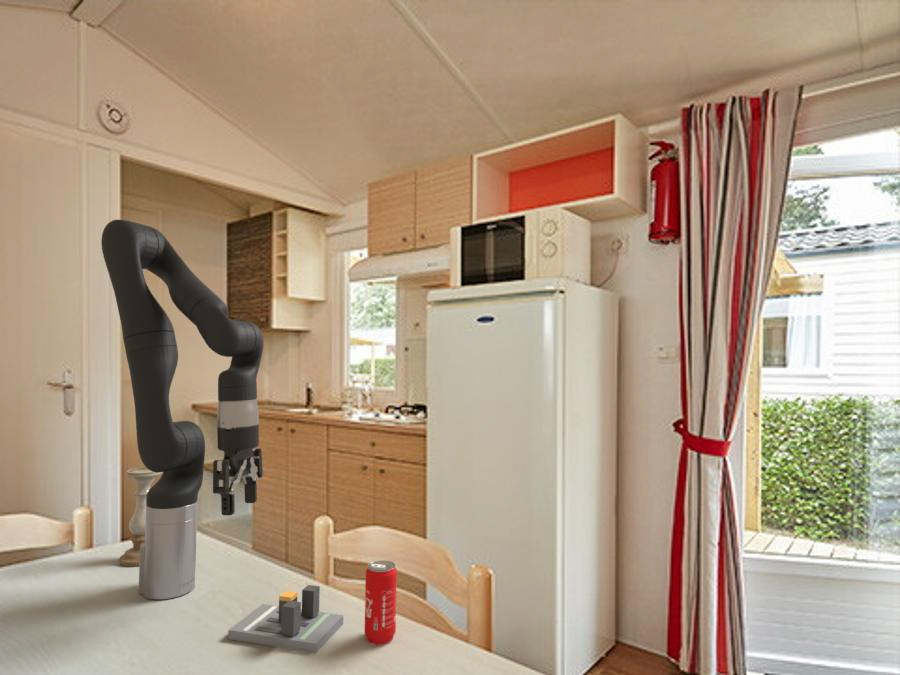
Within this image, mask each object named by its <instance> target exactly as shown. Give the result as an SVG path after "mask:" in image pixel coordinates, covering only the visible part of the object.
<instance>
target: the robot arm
mask: <svg viewBox="0 0 900 675" xmlns="http://www.w3.org/2000/svg"><path fill="white" fill-rule="evenodd" d="M101 250H102V257H103V259H104V262H105V263H104V264H105V266H106V269H107V273H108V276H109V280H110V282H111V286H112V289H113V293H114V297H115V301H116V306H117V310H118V315H119V316H118V317H119V320H120V326H121V332H122V340H123V343H124V351H125V355H126V359H127V361H126V362H127V365H128V369H129V375H130V382H131V388H132V395H133V402H134V411H135V426H136V427H135V429H136V441H137V442H136V444H137V450H138V454H139V457H140V460H141V462H142V464H143V466H144V467H147V468H148V469H149V470H151V471H152V472H157V473H159V472H163V473H162V474H161V476H160V478H159V479H158V480H157V482H156V483H155V484H153V486H151V488H150V489H149V491H148V492H147V497H146V524H145V542H144V543H142V544H141V545H140V566H138V567H139V570H138V571H139V572H138V573H139V575H138V594H141V595H143V597H145V598H146V599H148V600H149V599H150V600H167V599H174V598H177V597H181V596H184V595H186V594H189V593H190V592H191V591H192V590H194V588H195V586H196V567H197V566H196V562H197V533H198V532H197V530H198V529H197V528H198V526H197V525H198V498H199V497H198V496H199V492H200V489H201V487H202V485H203V480H204V472H205V470H204V468H205V460H206V459H205V456H206V440H205V436H204V433H203V432H204V431H203V430H202V429H201V427H200V426H199V425H198V424H196V423H195V422H193V421H189V420H180V421H179V420H178V421H174V422H173V417H172V414H171V407H170V389H171V386H172V382H173V378H174V376H175V373H176V369H177V366H178V360H179V351H178V344H177V343H178V342H177V338H176V333H175V329H174V326H173V323H172V321H171V319H170V317H169V316H168V313H166V311H165V309H164V308H163V307H162V306H161V304H160V303H159V302H158V300H157V299H156V298H155V296H154V294H153V293H152V291H151V290H150V288H149V286H148V283H147V281H146V278H145V274H144V270H147V271H149V272H150V273H152V274H153V275H155V276H156V277H158V278H159V279H161V280H162V281H163V283H164V284H165V285H166V286H167V289H168V293H169V296H170V299H171V300H172V303H173V304H174V306H175V307H176V308H177V309H178V310H179V312H181V313H182V314H183V315H184V316H185V317H186V318H187V319H188V320H189V321H190V322H191V323H192V324H193V325H195V327H196V328H197V330H198V332H199V335H200V336H201V338H202V339H203V342H204V343H205V344H206V346H207V347H208V348H209V349H210V351H213V353H215V354H216V355H218V356H220V357H221V356H222V357H225V358H229V357H230V358H231V360H230V365H229V367H228V369H225V370H223V371H221V372H220V373H219V374H218V377H217V404H218V405H217V411H216V424H217V425H216V426H217V427H216V428H217V430H216V432H217V435H216V436H217V449H218V450H219V451H223V453H224V454H223V459H214V460H213V462H212V463H213V465H212V472H213V473H212V493H213V494H216V495H217V494H218V495H219V496H220V501H221V505H220V506H221V508H220V510H221V515H222V516H232V515H235V513H236V512H235V510H236V508H235V505H236V504H235V491H236V487H237V485H238V484H239V483H240V482H241V479H242V480H243V482H244V485H243V486H244V502H245V503H246V504H255V503H257V500H258V499H257V498H258V494H257V493H258V492H257V489H258V488H257V487H258V486H257V484H258V483H259V480H260V478H263V476H264V473H263V456H262V455H263V454H262V453H263V451H262V448H258V447H259V446H260V421H259V420H260V417H259V405H258V390H257V377H258V373H259V371H260V365H261V361H262V358H263V352H264V336H263V333H262V331H261V329H260V328H259V326H258V325H257V324H255V322H251V321H245V320H244V321H243V320H233V319H231V318H230V317H228V315H229V308H228V306H227V305H226V303H225V302H224V301H223V299H222V298H220V297H219V296H218V294H216V293H215V292H213V291H212V290H211V288H209V287H208V286H207V285H206V284H205V283H204V282H203V281H202V280H201V279H199V277H197V276H196V275H195V273H194V272H193V271H192V270H191V269H190V268H189V267H188V265H187V264H186V263H185V261H184V260H183V259H182V257H181V256H180V255H179V253H178V252H177V251H176V250H175V248H174V247H173V245H172V243H170V241H169V240H168V239H167V237H166V236H165V235H164V233H162V232H161V231H159V230H158V228H154V227H152V226H150V225H146V224H141V223H137V222H136V221H135V222H133V221H129V220H125V219H113V220H110V221H108V223H107V224H106V225H105V227H104V229H103V231H102V235H101Z"/></svg>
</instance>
